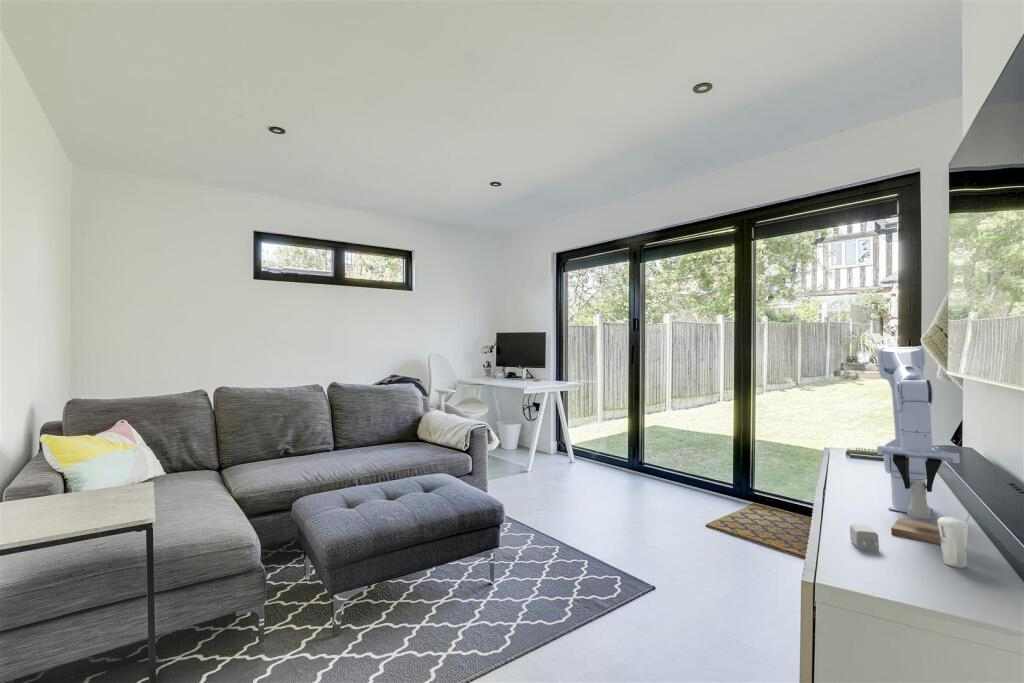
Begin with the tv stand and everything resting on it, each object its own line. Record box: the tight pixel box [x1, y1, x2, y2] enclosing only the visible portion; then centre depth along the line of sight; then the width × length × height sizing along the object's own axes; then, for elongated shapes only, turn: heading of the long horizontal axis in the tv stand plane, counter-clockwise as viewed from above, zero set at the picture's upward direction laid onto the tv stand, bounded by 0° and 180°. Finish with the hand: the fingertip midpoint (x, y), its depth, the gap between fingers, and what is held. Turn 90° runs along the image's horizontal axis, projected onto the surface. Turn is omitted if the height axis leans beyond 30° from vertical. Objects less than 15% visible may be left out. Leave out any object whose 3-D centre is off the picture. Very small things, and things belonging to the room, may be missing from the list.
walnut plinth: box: [890, 517, 941, 545], centre depth 110 cm, size 10×10×2 cm
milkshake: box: [936, 513, 971, 569], centre depth 94 cm, size 4×5×10 cm
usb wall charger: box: [849, 523, 880, 552], centre depth 103 cm, size 4×7×4 cm, turn 159°
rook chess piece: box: [907, 481, 933, 520], centre depth 110 cm, size 4×4×8 cm
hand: (918, 489), depth 111 cm, fingers closed on rook chess piece, 3 cm apart
